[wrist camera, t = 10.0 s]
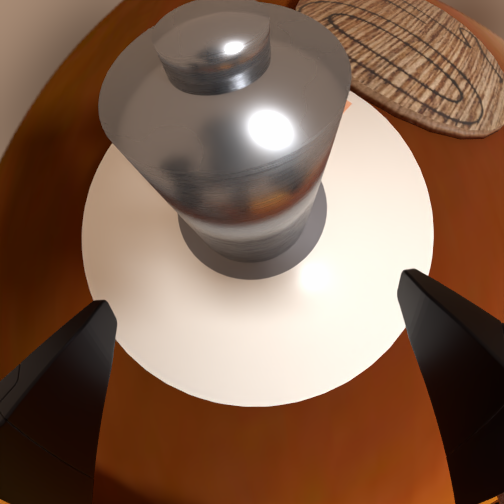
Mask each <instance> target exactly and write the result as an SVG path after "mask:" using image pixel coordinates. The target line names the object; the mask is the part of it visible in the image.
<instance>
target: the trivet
mask: <svg viewBox="0 0 504 504" xmlns="http://www.w3.org/2000/svg"><path fill="white" fill-rule="evenodd" d="M296 11H298V12H301V13H303V14H305V15H307V16H309V17H311V18H313V19H314V20H316V21H318V22H319V23H321V24H322V25H323V26H325V27H326V28H327V29H328V30H330V31H331V32H332V33H333V34H334V36H335V37H336V38H337V39H338V40H339V41H340V43H341V44H342V46H343V47H344V49H345V51H346V53H347V55H348V58H349V61H350V65H351V74H352V80H351V86H350V90H351V91H352V92H354V93H355V94H356V95H358V96H359V97H361V98H363V99H364V100H366V101H368V102H370V103H372V104H374V105H375V106H377V107H379V108H381V109H382V110H384V111H386V112H387V113H389V114H391V115H392V116H394V117H396V118H399V119H401V120H404V121H406V122H409V123H411V124H413V125H416V126H418V127H420V128H423V129H425V130H427V131H429V132H433V133H437V134H441V135H446V136H450V137H453V138H457V139H483V138H485V137H487V136H489V135H491V134H493V133H495V132H497V131H498V130H499V129H500V128H501V127H502V126H503V125H504V73H503V72H502V70H501V68H500V66H499V65H498V63H497V61H496V60H495V58H494V57H493V56H492V54H491V53H490V52H489V51H488V49H487V48H486V47H485V46H484V44H483V43H482V42H481V41H480V40H479V39H478V38H477V37H476V36H475V35H474V34H473V33H472V32H471V31H469V30H468V29H467V28H466V27H465V26H464V25H463V24H461V23H460V22H459V21H457V20H456V19H455V18H453V17H452V16H450V15H449V14H448V13H446V12H445V11H443V10H442V9H440V8H438V7H436V6H434V5H433V4H431V3H429V2H427V1H425V0H300V1H299V2H298V4H297V6H296Z"/></svg>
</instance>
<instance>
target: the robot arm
mask: <svg viewBox="0 0 504 504" xmlns="http://www.w3.org/2000/svg"><path fill="white" fill-rule="evenodd" d="M397 299H398V302H399V305H400V309H401V312H402V315H403V319H404V322H405V326H406V329H407V333H408V336H409V340H410V343H411V345H412V348H413V351H414V353H415V356H416V359H417V361H418V364H419V367H420V370H421V373H422V375H423V378H424V381H425V384H426V387H427V390H428V393H429V396H430V400H431V403H432V406H433V409H434V413H435V416H436V419H437V423H438V426H439V430H440V434H441V437H442V441H443V445H444V449H445V453H446V456H447V457H446V458H447V463H448V467H449V472H450V477H451V482H452V487H453V492H454V498H455V504H479V503H482V502H484V501H486V500H489V499H491V498H493V497H495V496H497V497H498V500H496V501H495V502H493V503H491V504H504V323H501V321H499V320H498V319H496V318H495V317H493V316H492V315H490V314H489V313H487V312H486V311H484V310H483V309H481V308H480V307H478V306H476V305H475V304H473V303H472V302H470V301H469V300H467V299H465V298H464V297H462V296H461V295H459V294H457V293H456V292H454V291H452V290H451V289H449V288H448V287H446V286H444V285H443V284H441V283H439V282H438V281H436V280H434V279H433V278H431V277H429V276H427V275H426V274H424V273H422V272H421V271H419V270H417V269H415V268H412V269H405V270H403V271H402V273H401V276H400V280H399V285H398V289H397ZM116 331H117V319H116V317H115V315H114V313H113V311H112V309H111V307H110V305H109V303H108V302H107V301H106V300H94V301H93V302H91V303H90V304H89V305H88V306H87V307H85V308H84V309H83V310H82V311H80V312H79V313H78V314H77V315H76V316H74V317H73V318H72V319H71V320H70V321H68V322H67V323H66V324H65V325H64V326H62V327H61V328H60V329H59V330H58V331H56V332H55V333H54V334H53V335H52V336H51V337H49V338H48V339H47V340H46V341H45V342H44V343H43V344H41V345H40V346H39V347H38V348H37V349H36V350H35V351H33V352H32V353H31V354H30V355H29V356H28V357H27V358H26V359H25V360H23V361H22V362H21V364H19V365H18V366H17V367H16V368H15V369H14V370H12V371H11V372H10V373H9V374H8V375H7V376H6V377H5V378H4V379H2V380H1V381H0V504H92V495H93V483H94V479H93V478H94V471H95V461H96V453H97V445H98V438H99V431H100V425H101V419H102V413H103V407H104V402H105V397H106V391H107V387H108V382H109V377H110V372H111V367H112V361H113V353H114V345H115V338H116Z"/></svg>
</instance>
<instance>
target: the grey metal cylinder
mask: <svg viewBox="0 0 504 504" xmlns="http://www.w3.org/2000/svg"><path fill="white" fill-rule="evenodd" d="M351 80H352V74H351V65H350V61H349V58H348V55H347V53H346V51H345V49H344V47H343V46H342V44H341V43H340V41H339V40H338V39H337V38H336V37H335V36H334V34H333V33H332V32H331V31H330V30H328V29H327V28H326V27H325V26H323V25H322V24H321V23H319V22H318V21H316V20H314V19H313V18H311V17H309V16H307V15H305V14H303V13H301V12H298V11H295V10H293V9H290V8H287V7H283V6H279V5H275V4H269V3H262V2H257V1H255V0H195V1H192V2H189V3H187V4H184V5H182V6H180V7H178V8H176V9H174V10H173V11H171V12H169V13H168V14H167V15H165V16H164V17H163V18H162V19H161V20H160V21H159V22H158V23H157V24H156V25H155V26H153V27H152V28H150V29H148V30H147V31H146V32H144V33H143V34H141V35H140V36H139V37H138V38H136V39H135V40H134V41H133V42H132V43H131V44H130V45H128V47H127V48H126V49H125V50H124V51H123V52H122V53H121V54H120V55H119V56H118V58H117V59H116V60H115V62H114V63H113V65H112V66H111V68H110V70H109V71H108V73H107V75H106V77H105V79H104V82H103V84H102V87H101V91H100V95H99V104H98V108H99V118H100V121H101V125H102V128H103V130H104V132H105V133H106V135H107V137H108V138H109V139H110V141H111V142H112V143H113V144H114V145H115V147H116V148H117V149H118V150H119V151H120V152H121V153H122V154H123V155H124V156H125V158H126V159H127V160H128V161H129V162H130V163H131V164H132V165H133V166H134V167H135V168H136V169H137V171H138V172H139V173H140V174H141V175H142V176H143V177H144V178H145V179H146V180H147V181H148V182H149V183H150V185H151V186H152V187H153V188H154V189H155V190H156V191H157V192H158V193H159V194H160V195H161V196H162V197H163V198H164V199H165V201H166V202H167V203H168V204H169V205H170V206H171V207H172V208H173V209H174V210H175V211H176V212H177V213H178V214H179V215H180V216H181V217H182V218H183V220H184V221H185V222H186V223H187V224H188V225H189V226H190V227H191V228H192V229H193V230H194V231H195V232H196V233H197V234H198V235H199V236H200V237H201V238H202V239H203V240H204V241H205V242H206V243H207V244H208V245H209V247H210V248H212V249H213V250H214V251H215V252H216V253H218V254H220V255H221V256H223V257H225V258H227V259H230V260H233V261H236V262H242V263H258V262H264V261H268V260H271V259H273V258H276V257H278V256H279V255H281V254H283V253H284V252H286V251H287V250H288V249H290V248H291V247H292V246H293V245H294V244H295V243H296V241H297V240H298V239H299V237H300V236H301V234H302V232H303V230H304V228H305V225H306V223H307V220H308V217H309V214H310V211H311V209H312V206H313V203H314V200H315V197H316V194H317V191H318V188H319V185H320V182H321V179H322V176H323V173H324V170H325V167H326V164H327V161H328V158H329V155H330V152H331V149H332V146H333V143H334V140H335V137H336V134H337V130H338V127H339V124H340V121H341V118H342V114H343V111H344V108H345V104H346V101H347V98H348V95H349V91H350V86H351Z"/></svg>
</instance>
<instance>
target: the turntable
mask: <svg viewBox="0 0 504 504" xmlns="http://www.w3.org/2000/svg"><path fill="white" fill-rule="evenodd" d="M433 238H434V231H433V216H432V209H431V204H430V199H429V194H428V190H427V187H426V184H425V181H424V178H423V176H422V173H421V170H420V168H419V166H418V164H417V162H416V160H415V158H414V156H413V154H412V152H411V151H410V149H409V148H408V146H407V145H406V143H405V142H404V140H403V139H402V137H401V136H400V134H399V133H398V132H397V131H396V130H395V128H394V127H393V126H392V125H391V124H390V123H389V122H388V121H387V119H386V118H385V117H384V116H383V115H381V114H380V113H379V112H378V111H377V110H376V109H375V108H373V107H372V106H371V105H370V104H369V103H367V102H366V101H364V100H363V99H362V98H360V97H359V96H357V95H356V94H354V93H353V92H351V91H349V95H348V98H347V101H346V104H345V108H344V111H343V114H342V118H341V121H340V124H339V127H338V130H337V134H336V137H335V140H334V143H333V146H332V149H331V152H330V155H329V158H328V161H327V164H326V167H325V170H324V173H323V176H322V179H321V182H320V185H319V188H318V191H317V194H316V197H315V200H314V203H313V206H312V209H311V211H310V214H309V217H308V220H307V223H306V225H305V228H304V230H303V232H302V234H301V236H300V237H299V239H298V240H297V241H296V243H295V244H294V245H293V246H292V247H291V248H290V249H288V250H287V251H286V252H284V253H283V254H281V255H279V256H278V257H276V258H273V259H271V260H268V261H264V262H258V263H242V262H236V261H233V260H230V259H227V258H225V257H223V256H221V255H220V254H218V253H216V252H215V251H214V250H213V249H212V248H210V247H209V245H208V244H207V243H206V242H205V241H204V240H203V239H202V238H201V237H200V236H199V235H198V234H197V233H196V232H195V231H194V230H193V229H192V228H191V227H190V226H189V225H188V224H187V223H186V222H185V221H184V220H183V218H182V217H181V216H180V215H179V214H178V213H177V212H176V211H175V210H174V209H173V208H172V207H171V206H170V205H169V204H168V203H167V202H166V201H165V199H164V198H163V197H162V196H161V195H160V194H159V193H158V192H157V191H156V190H155V189H154V188H153V187H152V186H151V185H150V183H149V182H148V181H147V180H146V179H145V178H144V177H143V176H142V175H141V174H140V173H139V172H138V171H137V169H136V168H135V167H134V166H133V165H132V164H131V163H130V162H129V161H128V160H127V159H126V158H125V156H124V155H123V154H122V153H121V152H120V151H119V150H118V149H117V148H116V147H115V145H114V144H113V143H112V144H111V146H110V147H109V149H108V150H107V152H106V154H105V155H104V157H103V159H102V161H101V163H100V165H99V167H98V168H97V171H96V173H95V176H94V178H93V181H92V183H91V186H90V189H89V193H88V196H87V200H86V204H85V209H84V216H83V224H82V255H83V262H84V270H85V274H86V278H87V282H88V285H89V289H90V293H91V295H92V298H93V300H106V301H107V302H108V303H109V305H110V307H111V309H112V311H113V313H114V315H115V317H116V319H117V331H116V338H115V339H116V340H117V341H118V342H119V344H120V345H121V346H122V347H123V348H124V350H125V351H126V352H127V353H128V354H129V355H130V356H131V357H132V358H133V359H134V360H136V361H137V362H138V363H139V364H140V365H141V366H142V367H143V368H144V369H146V370H147V371H148V372H150V373H151V374H153V375H154V376H156V377H157V378H159V379H160V380H162V381H163V382H165V383H167V384H168V385H170V386H173V387H175V388H177V389H179V390H181V391H183V392H185V393H187V394H190V395H192V396H196V397H199V398H202V399H206V400H209V401H212V402H216V403H222V404H229V405H236V406H275V405H282V404H288V403H294V402H299V401H302V400H305V399H308V398H312V397H315V396H318V395H321V394H324V393H326V392H328V391H330V390H332V389H334V388H336V387H338V386H340V385H342V384H344V383H346V382H348V381H350V380H351V379H352V378H354V377H355V376H357V375H358V374H360V373H361V372H363V371H364V370H365V369H367V368H368V367H370V366H371V365H372V364H373V363H374V362H375V361H376V360H377V359H378V358H379V357H380V356H381V355H383V354H384V353H385V352H386V351H387V350H388V349H389V348H390V347H391V345H392V344H393V343H394V341H395V340H396V339H397V338H398V336H399V335H400V334H401V332H402V331H403V330H404V328H405V327H406V326H405V322H404V319H403V315H402V312H401V309H400V305H399V302H398V299H397V289H398V285H399V280H400V276H401V273H402V271H403V270H405V269H412V268H415V269H417V270H419V271H421V272H422V273H424V274H426V275H427V276H428V274H429V270H430V265H431V261H432V252H433Z"/></svg>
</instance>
